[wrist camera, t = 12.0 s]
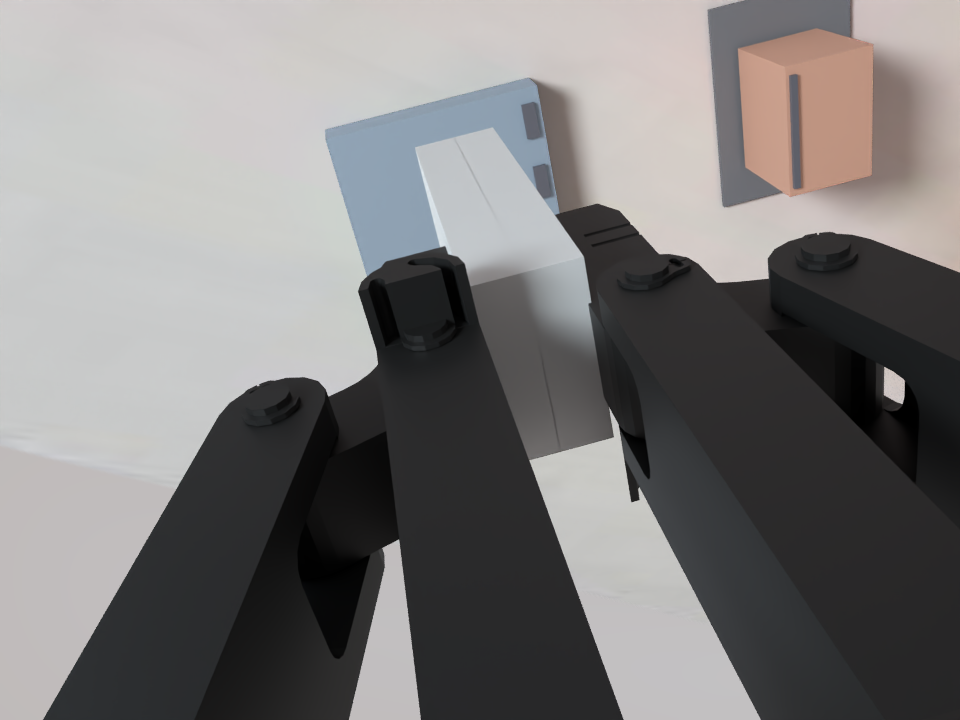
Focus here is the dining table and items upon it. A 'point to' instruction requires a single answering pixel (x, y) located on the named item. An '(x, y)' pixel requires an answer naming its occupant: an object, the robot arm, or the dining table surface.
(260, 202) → the dining table surface
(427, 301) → the robot arm
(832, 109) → the stub
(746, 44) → the mat
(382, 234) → the board
